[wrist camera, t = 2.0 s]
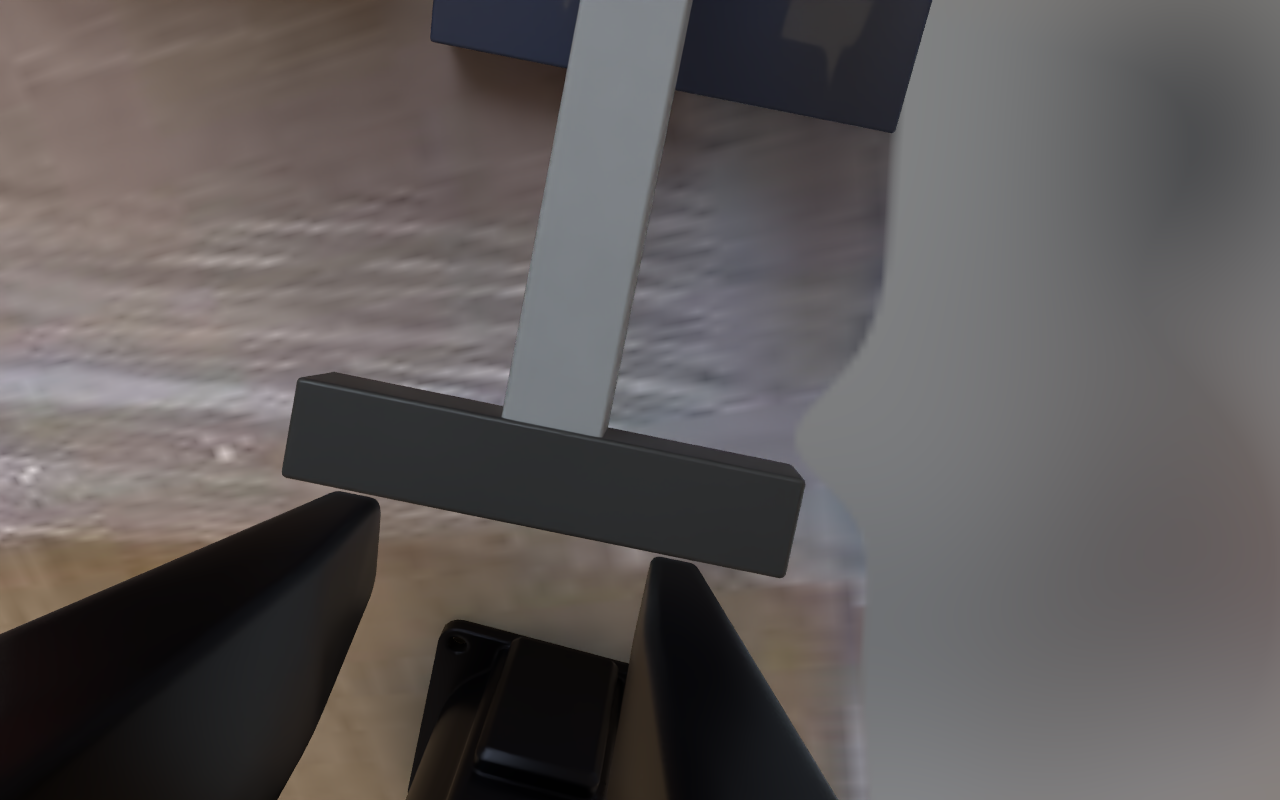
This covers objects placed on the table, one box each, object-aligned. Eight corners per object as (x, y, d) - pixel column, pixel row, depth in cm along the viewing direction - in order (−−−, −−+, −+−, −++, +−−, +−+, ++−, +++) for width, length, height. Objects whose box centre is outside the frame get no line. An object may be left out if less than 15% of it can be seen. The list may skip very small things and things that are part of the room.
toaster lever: (768, 543, 12) (792, 597, 10) (334, 454, 12) (253, 487, 10) (966, -383, 11) (1049, -571, 9) (495, -475, 11) (451, -686, 9)
